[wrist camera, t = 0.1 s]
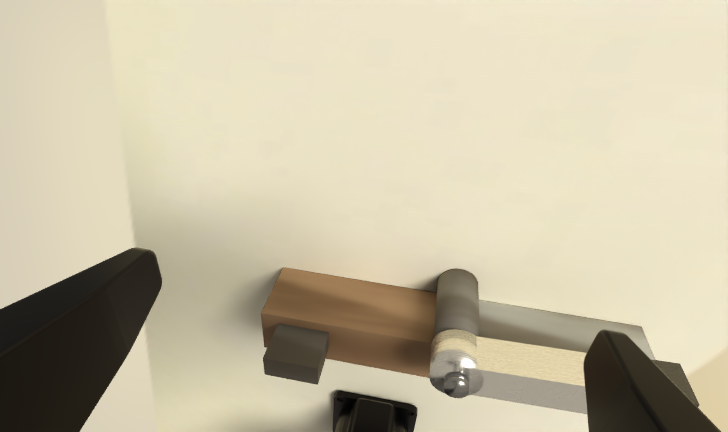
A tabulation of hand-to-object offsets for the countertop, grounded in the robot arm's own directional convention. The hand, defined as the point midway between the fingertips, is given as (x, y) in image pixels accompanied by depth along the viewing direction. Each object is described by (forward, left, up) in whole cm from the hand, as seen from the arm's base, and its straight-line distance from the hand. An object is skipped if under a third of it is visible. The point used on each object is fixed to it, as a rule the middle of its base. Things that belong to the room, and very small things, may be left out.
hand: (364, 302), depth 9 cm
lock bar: (-12, -8, -10) cm, 18 cm away
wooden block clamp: (-14, -4, -15) cm, 20 cm away
